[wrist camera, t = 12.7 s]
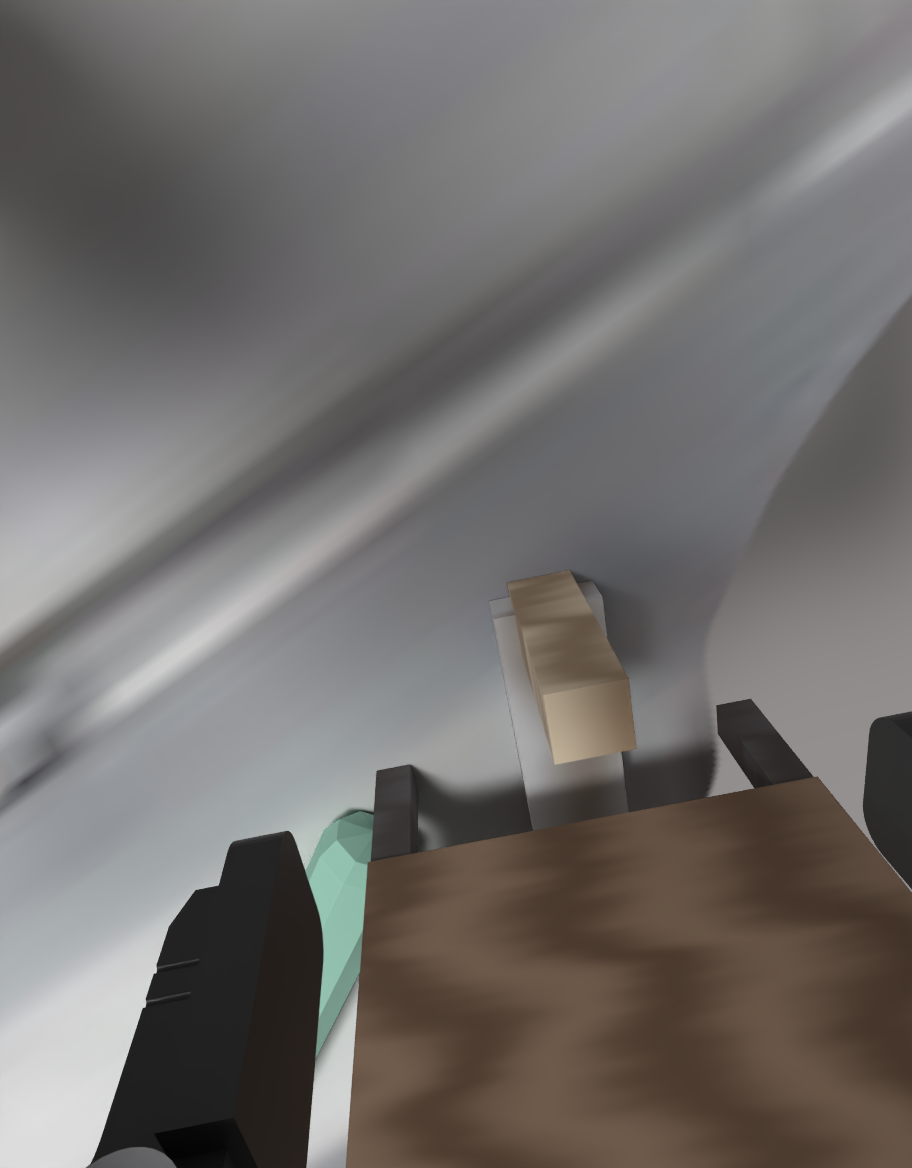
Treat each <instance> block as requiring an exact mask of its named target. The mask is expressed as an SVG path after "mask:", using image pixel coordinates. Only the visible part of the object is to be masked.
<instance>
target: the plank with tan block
mask: <svg viewBox="0 0 912 1168" xmlns="http://www.w3.org/2000/svg"><path fill="white" fill-rule="evenodd" d="M507 586H508V591H509V597H506V598H501V599H496V600H491V601H489V604H490V609H491V615H492V620H493V625H494V630H495V636H496V641H497V646H498V651H499V657H500V662H501V667H502V672H503V678H504V683H505V688H506V693H507V699H508V704H509V709H510V714H511V720H512V725H513V730H514V735H515V741H516V746H517V751H518V756H519V762H520V767H521V772H522V777H523V782H524V788H525V793H526V798H527V803H528V809H529V814H530V819H531V824H532V830H533V831H534V830H539V829H545V828H550V827H555V826H560V825H566V824H571V823H576V822H581V821H587V820H592V819H597V818H602V817H608V816H613V815H618V814H623V813H629V812H628V804H627V795H626V787H625V779H624V771H623V762H622V754H621V752H623V751H629V750H634V749H636V740H635V731H634V722H633V713H632V704H631V695H630V686H629V678H628V676H627V675H626V673H625V671H624V669H623V667H622V665H621V664H620V662H619V660H618V658H617V656H616V654H615V653H614V651H613V649H612V647H611V645H610V643H609V642H608V639H607V630H606V622H605V614H604V605H603V597H602V596H601V594H600V592H599V591H598V589H597V588H596V586H595V584H594V583H593V581H592V580H591V581H586V582H581V583H576V581H575V579H574V577H573V576H572V574H571V572H570V570H568V571H563V572H558V573H553V574H548V575H543V576H538V577H533V578H528V579H523V580H518V581H513V582H508V583H507Z"/></svg>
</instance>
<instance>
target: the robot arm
mask: <svg viewBox="0 0 912 1168" xmlns="http://www.w3.org/2000/svg"><path fill="white" fill-rule="evenodd" d="M864 788H865V789H864V799H863V812H864V818H865V822H866V825H867V828H868V830H869V833H870V835H871V838H872V839H873V841H874V843H875V845H876V846H877V848H878V849H879V851H880V852H881V853H882V855H883V856H884V857H885V858H886V859H887V861H888V862H889V863H890V864H891V865H892V866H893V868H894V869H895V870H896V871H897V872H898V873H899V875H900V876H901V877H902V878H903V879H904V880H905V882H906V883H907V884H908V885H909V886H910V888H911V889H912V712H907V713H902V714H896V715H891V716H886V717H881V718H878V719H876V720H875V721H874V722H873V723H872V725H871V728H870V733H869V743H868V754H867V766H866V776H865V787H864ZM323 959H324V946H323V933H322V925H321V920H320V915H319V911H318V908H317V905H316V902H315V899H314V896H313V893H312V890H311V887H310V884H309V881H308V878H307V875H306V872H305V869H304V866H303V863H302V860H301V857H300V854H299V851H298V848H297V845H296V842H295V839H294V837H293V835H292V834H291V832H289V831H284V832H279V833H274V834H269V835H264V836H258V837H253V838H248V839H243V840H238V841H234V842H232V844H231V845H230V847H229V849H228V853H227V856H226V860H225V864H224V868H223V872H222V875H221V879H220V883H219V886H214V887H209V888H204V889H199V890H195V892H194V893H193V894H192V896H191V897H190V899H189V900H188V901H187V903H186V904H185V905H184V907H183V908H182V909H181V911H180V912H179V914H178V915H177V916H176V918H175V919H174V920H173V922H172V923H171V925H170V926H169V928H168V931H167V935H166V938H165V941H164V944H163V947H162V950H161V953H160V956H159V959H158V963H157V973H156V974H154V975H153V978H152V981H151V984H150V987H149V991H148V994H147V997H146V1008H143V1009H142V1012H141V1015H140V1019H139V1022H138V1025H137V1028H136V1031H135V1034H134V1037H133V1040H132V1043H131V1047H130V1050H129V1053H128V1056H127V1059H126V1062H125V1065H124V1068H123V1071H122V1075H121V1078H120V1081H119V1084H118V1087H117V1090H116V1093H115V1096H114V1099H113V1103H112V1106H111V1109H110V1112H109V1115H108V1118H107V1121H106V1124H105V1128H104V1131H103V1134H102V1137H101V1140H100V1143H99V1145H98V1148H97V1151H96V1153H95V1156H94V1158H93V1160H92V1162H91V1164H90V1165H89V1166H87V1167H86V1168H306V1165H307V1153H308V1141H309V1129H310V1117H311V1105H312V1093H313V1081H314V1069H315V1057H316V1045H317V1033H318V1021H319V1009H320V997H321V985H322V973H323Z"/></svg>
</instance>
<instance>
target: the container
mask: <svg viewBox="0 0 912 1168" xmlns="http://www.w3.org/2000/svg"><path fill="white" fill-rule="evenodd" d="M373 818H374V815H372V814H368V813H365V812H362V811H359V812H357V813H354V814H351V815H349V816H346V817H343V818H341V819H339V820H337V821H336V822H335V823H333V824H332V825H330V826H329V827H328V828H326V829H325V830H324V832H323V834H322V836H321V838H320V840H319V843H318V845H317V847H316V849H315V852H314V854H313V856H312V858H311V861H310V863H309V865H308V867H307V870H306V875H307V878H308V881H309V884H310V887H311V890H312V893H313V896H314V899H315V902H316V905H317V908H318V911H319V915H320V920H321V925H322V933H323V946H324V959H323V973H322V985H321V997H320V1009H319V1021H318V1033H317V1045H316V1057H317V1055H318V1053H319V1051H320V1049H321V1047H322V1045H323V1043H324V1041H325V1039H326V1037H327V1035H328V1033H329V1031H330V1029H331V1027H332V1025H333V1024H334V1022H335V1020H336V1018H337V1016H338V1014H339V1012H340V1010H341V1008H342V1006H343V1004H344V1002H345V1000H346V998H347V996H348V994H349V992H350V990H351V988H352V986H353V984H354V982H355V980H356V978H357V976H358V975H359V973H360V963H361V949H362V935H363V921H364V907H365V893H366V879H367V865H368V862H371V848H372V833H373ZM316 1057H315V1059H316Z"/></svg>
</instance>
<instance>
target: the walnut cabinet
mask: <svg viewBox="0 0 912 1168" xmlns="http://www.w3.org/2000/svg"><path fill="white" fill-rule="evenodd" d="M716 707H717V725H718V735H719V736H720V738H721V739H722V741H723V742H724V744H725V745H726V747H727V748H728V750H729V751H730V753H731V754H732V756H733V757H734V759H735V760H736V761H737V763H738V764H739V766H740V767H741V769H742V770H743V772H744V773H745V775H746V776H747V778H748V779H749V780H750V782H751V784H752V785H753V787H754V789H749V790H744V791H739V792H733V793H729V794H723V795H718V796H712V797H707V798H702V799H697V800H691V801H686V802H681V803H676V804H670V805H665V806H660V807H655V808H649V809H644V810H639V811H634V812H629V813H623V814H618V815H613V816H608V817H602V818H597V819H592V820H587V821H581V822H576V823H571V824H566V825H560V826H555V827H550V828H545V829H539V830H534V831H529V832H524V833H518V834H513V835H508V836H503V837H497V838H492V839H487V840H482V841H476V842H471V843H466V844H461V845H455V846H450V847H445V848H440V849H434V850H429V851H424V852H419V853H418V795H417V788H416V784H415V780H414V777H413V773H412V769H411V765H406V766H400V767H395V768H390V769H385V770H380V771H377V773H376V788H375V803H374V818H373V833H372V848H371V862H368V865H367V879H366V893H365V907H364V921H363V935H362V949H361V963H360V977H359V991H358V1005H357V1019H356V1033H355V1047H354V1060H353V1074H352V1088H351V1102H350V1116H349V1130H348V1144H347V1158H346V1168H912V892H911V891H910V890H909V889H908V888H907V886H906V885H905V884H904V882H903V881H902V880H901V879H900V878H899V876H898V875H897V874H896V873H895V871H894V870H893V869H892V868H891V867H890V865H889V864H888V863H887V862H886V860H885V859H884V858H883V857H882V855H881V854H880V853H879V852H878V850H877V849H876V848H875V847H874V846H873V844H872V843H871V842H870V841H869V839H868V838H867V837H866V836H865V835H864V833H863V832H862V831H861V830H860V828H859V827H858V826H857V825H856V823H855V822H854V821H853V820H852V818H851V817H850V816H849V815H848V814H847V812H846V811H845V810H844V809H843V807H842V806H841V805H840V804H839V802H838V801H837V800H836V799H835V798H834V796H833V795H832V794H831V793H830V791H829V790H828V789H827V788H826V786H825V785H824V784H823V783H822V782H821V780H820V779H819V778H818V777H813V776H812V774H811V773H810V772H809V771H808V769H807V768H806V767H805V766H804V764H803V763H802V762H801V761H800V759H799V758H798V757H797V756H796V754H795V753H794V752H793V751H792V749H791V748H790V747H789V746H788V744H787V743H786V742H785V741H784V740H783V738H782V737H781V736H780V735H779V733H778V732H777V731H776V730H775V729H774V727H773V726H772V725H771V723H770V722H769V721H768V720H767V718H766V717H765V716H764V715H763V714H762V712H761V711H760V710H759V708H758V707H757V706H756V705H755V704H754V702H753V701H752V700H751V699H747V700H742V701H737V702H732V703H726V704H722V705H717V706H716Z"/></svg>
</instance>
